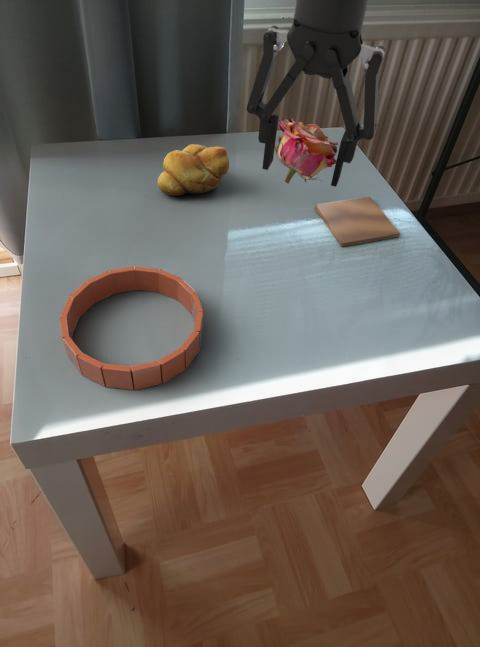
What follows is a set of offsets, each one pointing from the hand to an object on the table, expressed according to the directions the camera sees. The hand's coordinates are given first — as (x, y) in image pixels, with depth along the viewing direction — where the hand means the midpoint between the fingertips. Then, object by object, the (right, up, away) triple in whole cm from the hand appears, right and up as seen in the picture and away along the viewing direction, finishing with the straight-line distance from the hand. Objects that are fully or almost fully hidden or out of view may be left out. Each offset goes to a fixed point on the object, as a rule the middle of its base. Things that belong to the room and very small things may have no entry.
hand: (301, 172), depth 69 cm
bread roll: (-18, +4, +23) cm, 29 cm away
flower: (0, 0, 0) cm, 0 cm away
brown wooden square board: (+12, -3, +19) cm, 23 cm away
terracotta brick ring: (-23, -22, -1) cm, 32 cm away
